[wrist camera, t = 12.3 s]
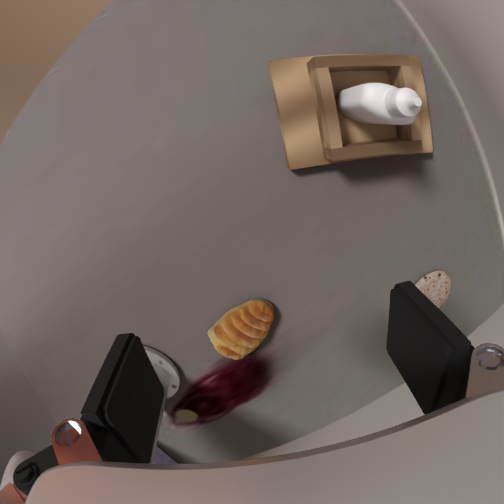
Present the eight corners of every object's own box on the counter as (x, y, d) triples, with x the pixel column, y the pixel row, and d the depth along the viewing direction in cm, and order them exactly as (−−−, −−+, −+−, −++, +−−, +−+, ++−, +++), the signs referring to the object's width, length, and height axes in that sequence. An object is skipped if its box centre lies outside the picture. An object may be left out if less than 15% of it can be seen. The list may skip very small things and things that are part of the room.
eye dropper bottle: (353, 75, 27) (408, 56, 16) (388, 112, 29) (453, 112, 18) (328, 102, 28) (375, 91, 17) (365, 138, 30) (424, 148, 19)
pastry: (246, 283, 38) (247, 300, 35) (286, 310, 40) (290, 328, 37) (204, 329, 41) (202, 347, 38) (243, 352, 43) (243, 370, 39)
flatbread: (451, 264, 38) (454, 267, 37) (446, 305, 41) (449, 308, 40) (407, 277, 39) (410, 280, 38) (404, 319, 42) (407, 322, 41)
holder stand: (426, 150, 32) (449, 156, 27) (288, 168, 32) (295, 175, 28) (412, 58, 27) (434, 51, 22) (267, 63, 28) (271, 53, 23)
